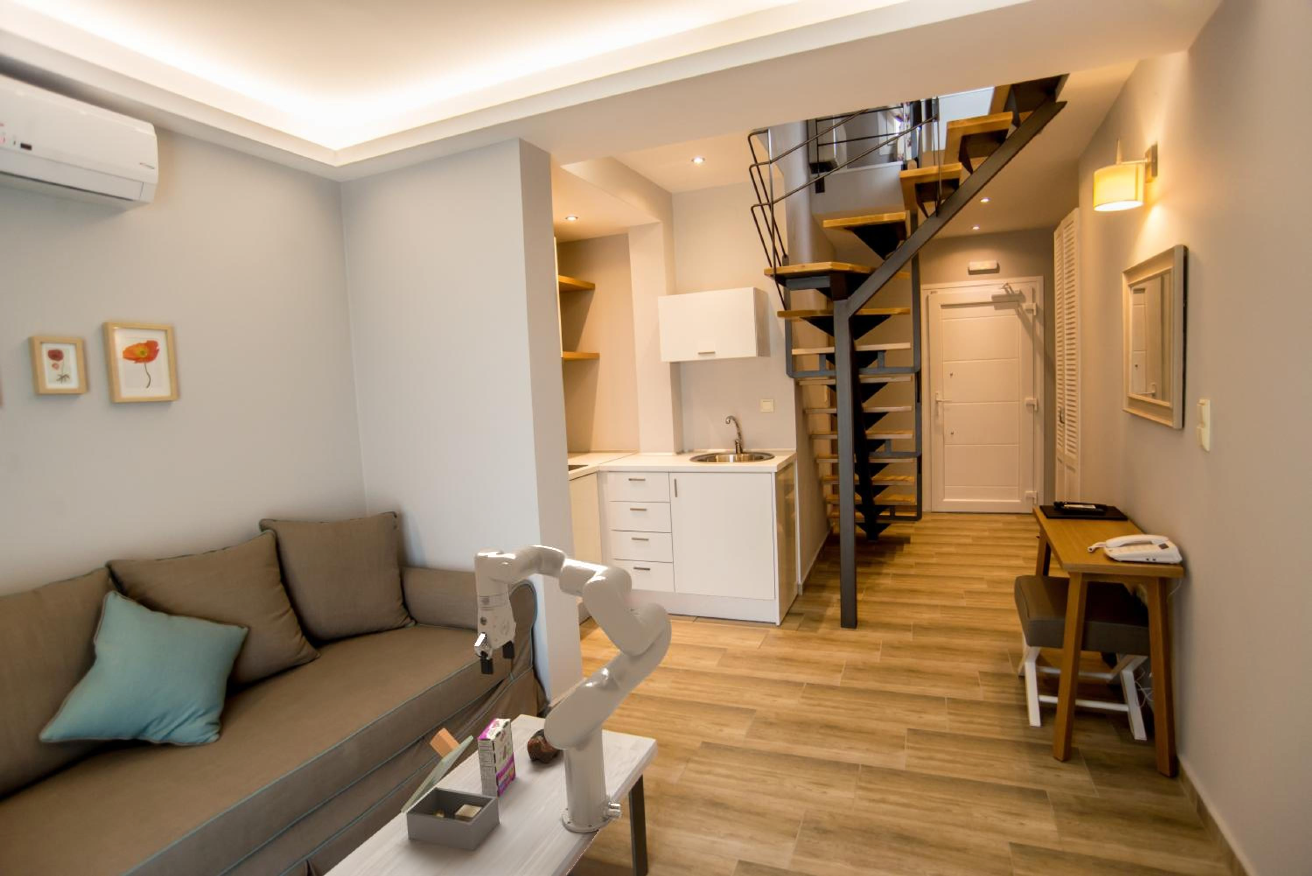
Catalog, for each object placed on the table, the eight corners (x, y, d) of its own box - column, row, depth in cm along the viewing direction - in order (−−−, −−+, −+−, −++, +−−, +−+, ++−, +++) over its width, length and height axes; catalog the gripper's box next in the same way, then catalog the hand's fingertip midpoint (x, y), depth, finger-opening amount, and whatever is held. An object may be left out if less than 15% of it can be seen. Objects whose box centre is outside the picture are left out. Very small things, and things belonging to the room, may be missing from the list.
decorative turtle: (517, 768, 193) (515, 739, 193) (546, 745, 206) (544, 718, 207) (547, 772, 189) (544, 743, 189) (574, 748, 203) (572, 720, 203)
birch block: (483, 823, 167) (482, 807, 167) (473, 833, 164) (472, 817, 163) (466, 820, 169) (464, 804, 169) (456, 830, 165) (454, 814, 165)
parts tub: (499, 824, 168) (497, 797, 167) (473, 854, 157) (470, 825, 157) (438, 813, 174) (435, 787, 173) (408, 841, 163) (406, 813, 163)
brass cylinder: (448, 827, 167) (447, 811, 166) (438, 837, 163) (436, 821, 163) (435, 824, 168) (433, 809, 168) (424, 835, 164) (422, 819, 164)
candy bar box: (499, 775, 190) (494, 717, 189) (516, 776, 189) (511, 718, 188) (481, 799, 179) (476, 738, 178) (499, 800, 178) (494, 739, 177)
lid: (473, 738, 168) (455, 718, 170) (444, 763, 157) (425, 742, 159) (434, 785, 174) (417, 766, 175) (403, 813, 163) (385, 792, 164)
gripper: (486, 611, 163) (492, 681, 164) (524, 589, 179) (529, 653, 180) (459, 609, 165) (465, 679, 166) (499, 588, 181) (504, 652, 183)
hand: (498, 666), depth 173 cm, fingers open, 9 cm apart
